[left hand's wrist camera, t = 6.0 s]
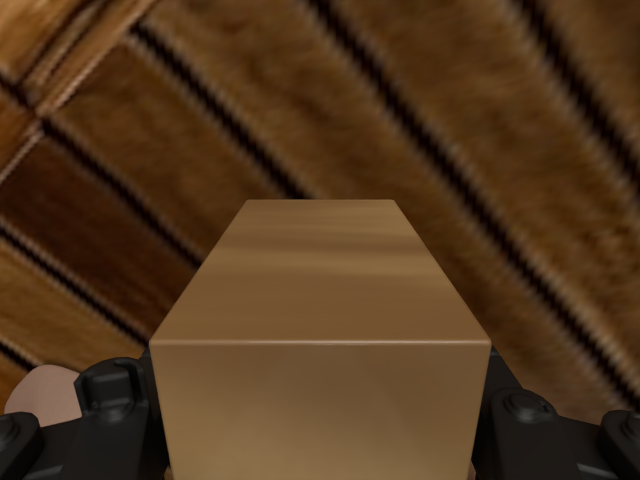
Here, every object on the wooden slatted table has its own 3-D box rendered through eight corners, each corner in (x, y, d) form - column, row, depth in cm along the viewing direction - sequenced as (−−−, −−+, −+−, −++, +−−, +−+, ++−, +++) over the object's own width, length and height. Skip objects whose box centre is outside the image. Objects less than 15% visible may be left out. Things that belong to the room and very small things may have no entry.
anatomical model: (-34, 388, 26) (136, 429, 28) (9, 352, 30) (158, 389, 31) (-36, 517, 31) (111, 547, 32) (2, 472, 35) (133, 500, 36)
